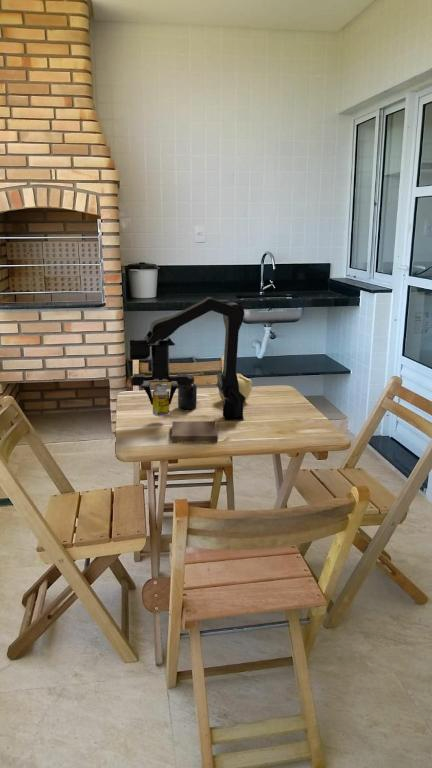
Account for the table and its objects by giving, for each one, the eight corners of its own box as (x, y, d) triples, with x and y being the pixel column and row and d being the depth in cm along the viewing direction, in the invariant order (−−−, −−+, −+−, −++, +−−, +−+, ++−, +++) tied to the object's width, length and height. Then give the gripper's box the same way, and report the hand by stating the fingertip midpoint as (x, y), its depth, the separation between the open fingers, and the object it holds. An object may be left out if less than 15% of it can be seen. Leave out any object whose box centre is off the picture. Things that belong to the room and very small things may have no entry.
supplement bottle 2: (174, 409, 213) (174, 377, 210) (182, 404, 219) (182, 373, 216) (192, 412, 210) (192, 379, 207) (199, 406, 216) (199, 375, 213)
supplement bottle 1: (157, 418, 194) (157, 388, 192) (149, 413, 199) (149, 384, 196) (172, 415, 197) (172, 385, 195) (164, 410, 202) (164, 382, 199)
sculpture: (255, 400, 225) (256, 373, 222) (239, 408, 215) (240, 379, 213) (229, 395, 231) (230, 369, 228) (213, 403, 221) (213, 375, 219)
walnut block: (214, 426, 195) (215, 421, 194) (217, 441, 181) (217, 435, 181) (172, 427, 194) (172, 421, 194) (171, 442, 181) (171, 436, 180)
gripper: (188, 353, 201) (188, 397, 205) (133, 353, 200) (134, 397, 204) (188, 360, 191) (188, 406, 195) (130, 361, 189) (132, 407, 194)
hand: (160, 404), depth 197 cm, fingers closed on supplement bottle 1, 5 cm apart
